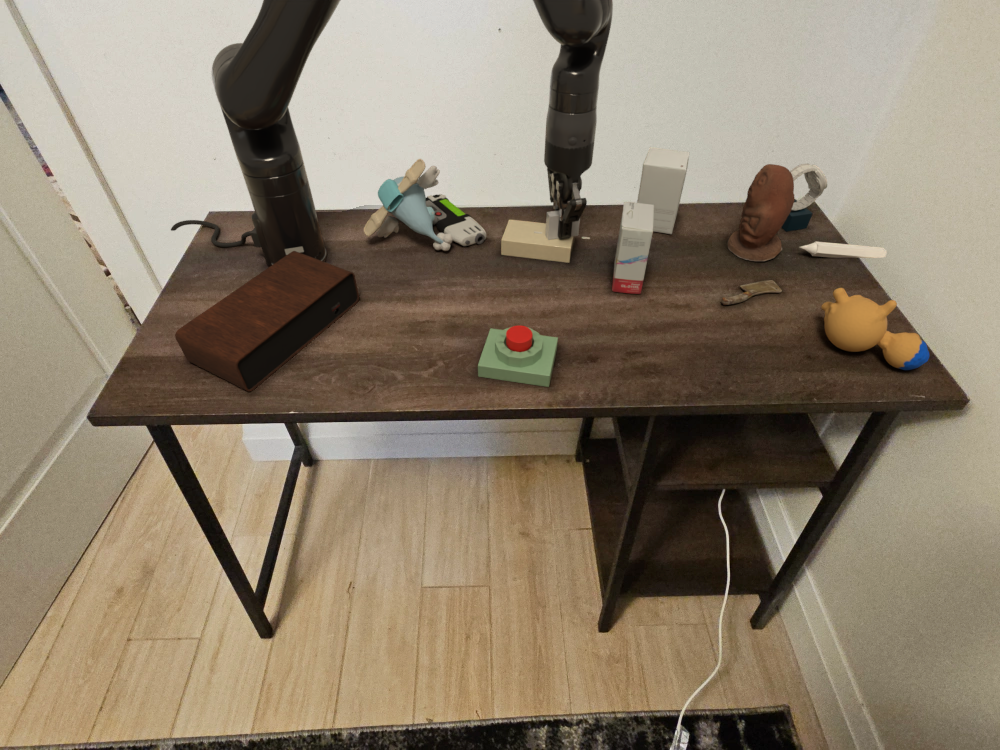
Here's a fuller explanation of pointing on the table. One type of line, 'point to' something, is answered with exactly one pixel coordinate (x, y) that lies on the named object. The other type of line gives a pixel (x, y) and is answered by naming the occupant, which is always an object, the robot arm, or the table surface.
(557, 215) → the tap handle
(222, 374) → the alarm clock
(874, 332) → the toy
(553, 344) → the button box
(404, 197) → the toy figure
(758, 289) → the meat cleaver
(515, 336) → the stop button
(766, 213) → the figurine
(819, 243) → the white pointed rod
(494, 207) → the table surface
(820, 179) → the watch
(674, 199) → the white packaging box
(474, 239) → the toy gun
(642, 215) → the ink box
